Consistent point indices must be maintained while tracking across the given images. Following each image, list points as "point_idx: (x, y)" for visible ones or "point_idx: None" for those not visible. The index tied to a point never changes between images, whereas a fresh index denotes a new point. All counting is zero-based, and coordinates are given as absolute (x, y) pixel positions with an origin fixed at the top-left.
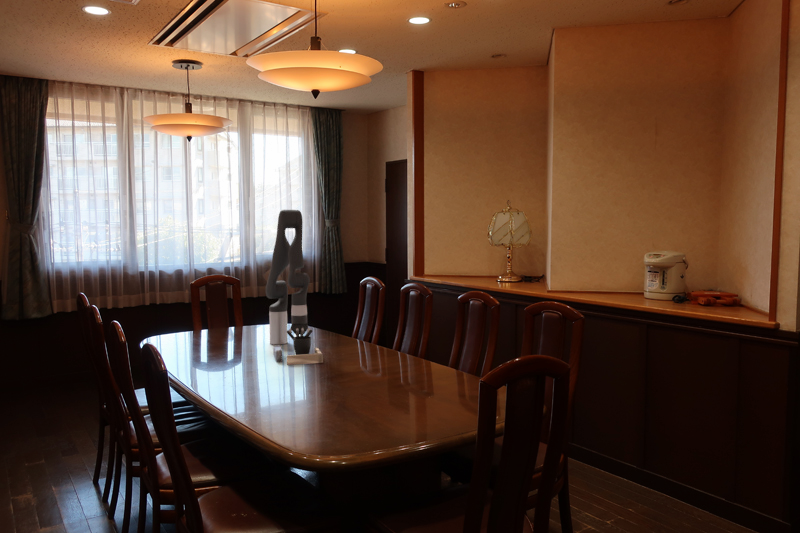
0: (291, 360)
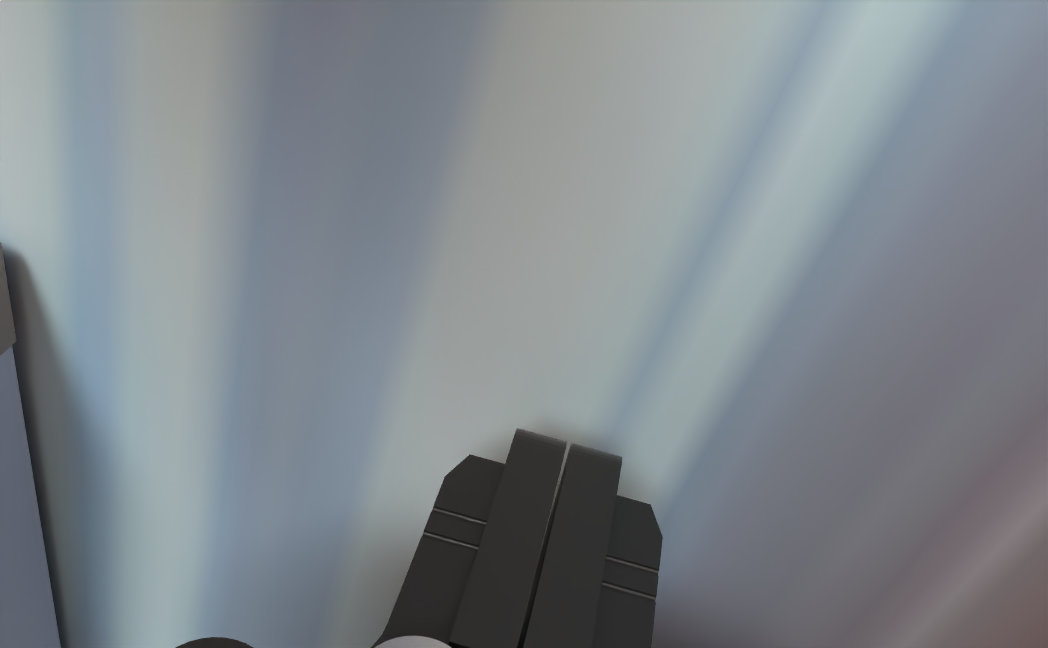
0: None
